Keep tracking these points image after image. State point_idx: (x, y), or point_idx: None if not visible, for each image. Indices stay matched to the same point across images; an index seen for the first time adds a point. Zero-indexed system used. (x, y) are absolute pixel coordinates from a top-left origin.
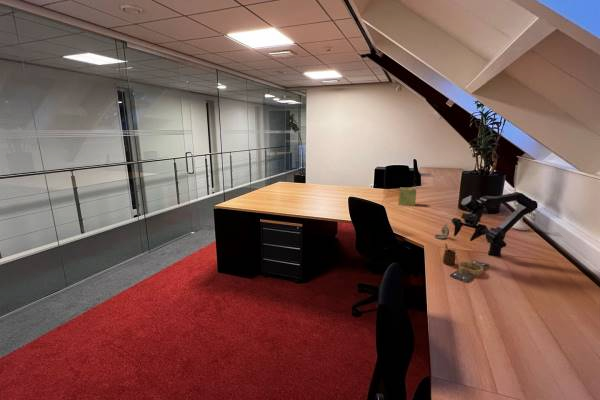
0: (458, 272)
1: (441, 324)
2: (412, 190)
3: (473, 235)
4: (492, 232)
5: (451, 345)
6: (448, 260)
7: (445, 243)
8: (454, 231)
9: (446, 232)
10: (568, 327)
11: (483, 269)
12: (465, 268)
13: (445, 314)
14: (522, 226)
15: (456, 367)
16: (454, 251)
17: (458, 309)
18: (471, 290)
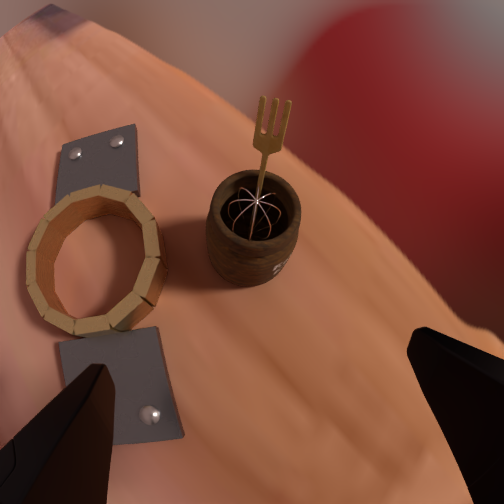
0: (118, 171)
1: (68, 23)
2: None
3: (35, 433)
4: None
5: (47, 22)
6: (227, 203)
7: (285, 104)
8: (483, 352)
9: None
10: None
11: (63, 354)
12: (89, 192)
13: (70, 34)
14: None
15: (37, 18)
16: (233, 237)
17: (52, 56)
18: (40, 127)
